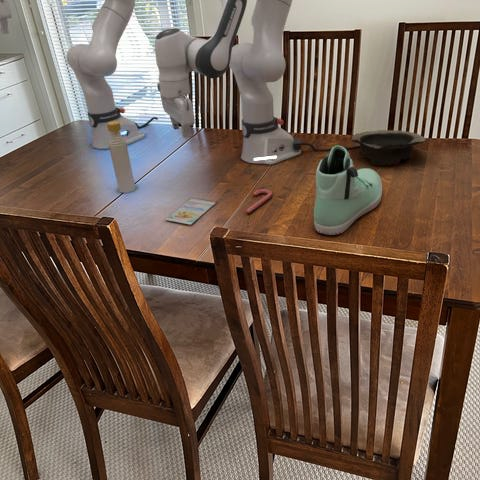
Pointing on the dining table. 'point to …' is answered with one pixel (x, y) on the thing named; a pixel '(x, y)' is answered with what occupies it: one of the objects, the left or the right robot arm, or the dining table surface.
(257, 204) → the candy cane
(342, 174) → the sneaker
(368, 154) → the stone bowl
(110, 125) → the cap
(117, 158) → the bottle
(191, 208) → the baking ingredient package
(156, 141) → the dining table surface
